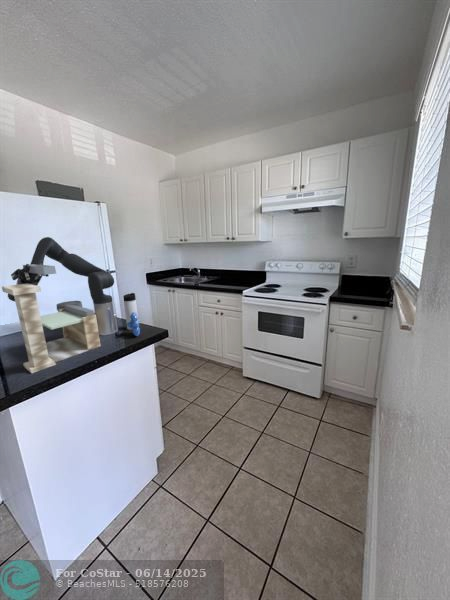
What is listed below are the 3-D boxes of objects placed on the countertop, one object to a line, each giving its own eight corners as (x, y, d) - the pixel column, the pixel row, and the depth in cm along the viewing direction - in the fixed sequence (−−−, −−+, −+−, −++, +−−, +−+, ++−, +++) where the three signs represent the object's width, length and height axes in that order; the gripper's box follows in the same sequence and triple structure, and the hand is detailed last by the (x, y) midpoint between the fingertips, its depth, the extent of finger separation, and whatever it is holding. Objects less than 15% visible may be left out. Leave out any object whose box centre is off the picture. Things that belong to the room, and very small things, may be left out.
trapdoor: (72, 311, 125) (70, 303, 124) (94, 318, 111) (93, 310, 110) (31, 320, 111) (29, 311, 110) (51, 329, 97) (49, 320, 96)
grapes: (125, 333, 130) (123, 311, 127) (138, 330, 133) (136, 309, 130) (129, 340, 120) (126, 317, 117) (143, 337, 123) (140, 314, 121)
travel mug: (141, 326, 139) (138, 293, 135) (134, 330, 133) (129, 295, 128) (132, 326, 141) (128, 292, 137) (124, 329, 135) (120, 295, 130)
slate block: (34, 270, 110) (33, 264, 109) (56, 273, 96) (54, 266, 96) (24, 271, 107) (22, 265, 106) (44, 274, 93) (42, 266, 92)
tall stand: (43, 356, 105) (27, 283, 97) (55, 364, 96) (39, 286, 89) (20, 363, 98) (1, 286, 91) (31, 373, 90) (12, 289, 83)
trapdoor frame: (75, 335, 129) (70, 307, 125) (100, 346, 113) (95, 314, 110) (33, 347, 114) (26, 316, 111) (56, 361, 99) (48, 326, 95)
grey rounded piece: (82, 323, 149) (79, 299, 145) (88, 327, 140) (84, 303, 136) (58, 328, 141) (54, 303, 137) (62, 333, 131) (57, 307, 128)
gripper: (5, 277, 108) (10, 258, 98) (42, 273, 119) (50, 256, 109) (10, 292, 108) (17, 275, 97) (47, 287, 119) (56, 271, 108)
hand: (34, 265), depth 103 cm, fingers closed on slate block, 4 cm apart
